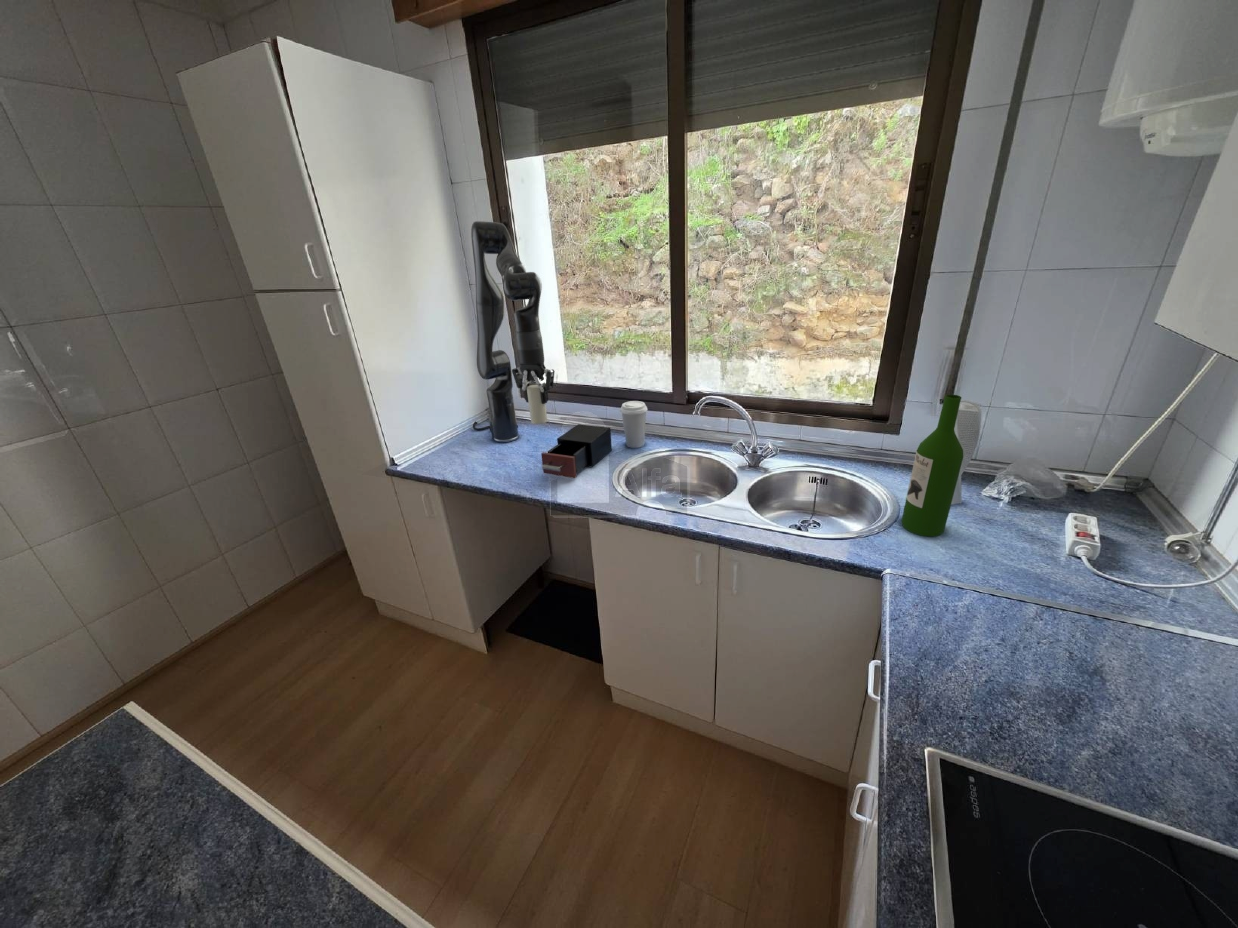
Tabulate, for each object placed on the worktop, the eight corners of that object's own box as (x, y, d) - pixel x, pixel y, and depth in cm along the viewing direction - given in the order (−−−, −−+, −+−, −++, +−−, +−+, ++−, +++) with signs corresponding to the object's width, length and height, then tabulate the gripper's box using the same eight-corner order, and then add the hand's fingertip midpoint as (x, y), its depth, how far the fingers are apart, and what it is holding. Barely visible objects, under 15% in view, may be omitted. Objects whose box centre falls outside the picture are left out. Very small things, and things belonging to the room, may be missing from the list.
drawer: (568, 484, 146) (565, 463, 143) (536, 478, 151) (533, 458, 148) (594, 461, 161) (593, 442, 158) (565, 456, 165) (563, 438, 163)
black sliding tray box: (592, 467, 159) (590, 442, 155) (559, 462, 164) (556, 438, 160) (611, 450, 171) (610, 427, 167) (580, 446, 176) (578, 424, 172)
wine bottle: (892, 521, 120) (918, 393, 107) (922, 514, 122) (952, 388, 108) (921, 539, 112) (953, 404, 99) (953, 533, 114) (989, 399, 101)
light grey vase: (941, 509, 124) (968, 403, 112) (919, 496, 130) (942, 395, 119) (968, 504, 125) (997, 399, 114) (945, 491, 132) (970, 391, 120)
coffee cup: (617, 442, 177) (615, 403, 171) (641, 437, 180) (639, 398, 174) (629, 451, 169) (627, 410, 163) (653, 445, 172) (652, 405, 166)
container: (527, 423, 150) (523, 388, 145) (536, 418, 154) (532, 384, 149) (541, 424, 148) (537, 389, 143) (550, 419, 152) (546, 385, 147)
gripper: (557, 344, 141) (563, 400, 148) (516, 343, 147) (524, 397, 154) (543, 350, 135) (550, 408, 142) (501, 348, 141) (510, 404, 148)
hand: (536, 402), depth 148 cm, fingers closed on container, 5 cm apart
